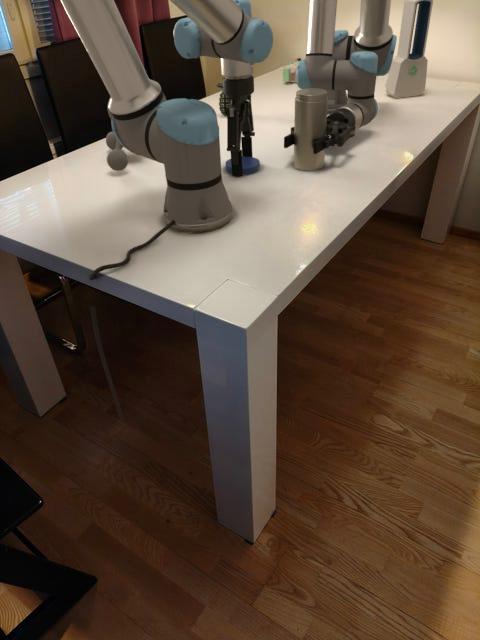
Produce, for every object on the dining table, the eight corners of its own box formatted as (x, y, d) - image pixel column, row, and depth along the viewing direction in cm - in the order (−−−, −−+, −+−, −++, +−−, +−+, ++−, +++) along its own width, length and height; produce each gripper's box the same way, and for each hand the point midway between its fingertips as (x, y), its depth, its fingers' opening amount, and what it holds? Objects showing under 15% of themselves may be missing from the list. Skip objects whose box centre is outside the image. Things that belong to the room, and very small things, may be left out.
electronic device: (393, 98, 176) (407, -1, 157) (383, 94, 181) (395, -2, 163) (424, 94, 178) (441, -4, 160) (413, 90, 184) (428, -5, 165)
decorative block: (305, 54, 216) (346, 57, 206) (304, 70, 220) (345, 74, 210) (274, 66, 200) (317, 69, 190) (274, 83, 204) (316, 87, 194)
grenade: (217, 117, 168) (214, 86, 162) (221, 112, 172) (219, 82, 166) (235, 117, 166) (233, 86, 160) (239, 113, 171) (238, 82, 165)
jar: (330, 165, 128) (335, 91, 117) (307, 173, 125) (310, 97, 114) (309, 157, 134) (312, 86, 122) (287, 164, 130) (288, 91, 119)
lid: (241, 159, 135) (241, 154, 134) (266, 167, 129) (266, 160, 128) (218, 169, 129) (218, 163, 128) (243, 177, 124) (243, 171, 123)
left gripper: (240, 87, 106) (245, 185, 120) (264, 65, 123) (266, 154, 137) (208, 87, 108) (216, 183, 122) (235, 65, 125) (240, 153, 139)
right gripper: (376, 141, 133) (335, 167, 119) (310, 130, 144) (266, 153, 130) (379, 112, 129) (338, 136, 115) (311, 103, 139) (265, 124, 125)
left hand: (242, 168), depth 129 cm, fingers open, 9 cm apart
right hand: (299, 145), depth 122 cm, fingers closed on jar, 8 cm apart
